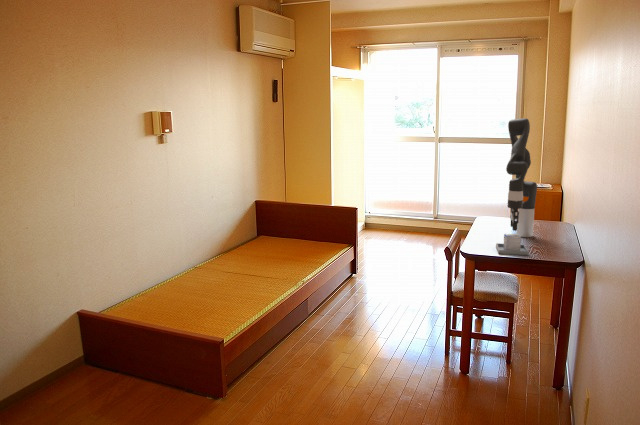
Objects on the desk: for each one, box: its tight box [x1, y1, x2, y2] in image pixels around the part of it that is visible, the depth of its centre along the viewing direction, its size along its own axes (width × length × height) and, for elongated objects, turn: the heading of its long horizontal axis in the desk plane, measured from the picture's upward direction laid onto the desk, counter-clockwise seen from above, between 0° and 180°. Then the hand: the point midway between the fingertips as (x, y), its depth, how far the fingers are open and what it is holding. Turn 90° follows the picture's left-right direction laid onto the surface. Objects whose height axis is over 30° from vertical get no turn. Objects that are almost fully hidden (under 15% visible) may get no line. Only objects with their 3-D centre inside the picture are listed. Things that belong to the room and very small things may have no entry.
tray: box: [495, 242, 530, 257], centre depth 286 cm, size 15×15×2 cm
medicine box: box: [503, 233, 522, 251], centre depth 285 cm, size 8×4×9 cm, turn 89°
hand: (513, 228), depth 284 cm, fingers open, 8 cm apart
